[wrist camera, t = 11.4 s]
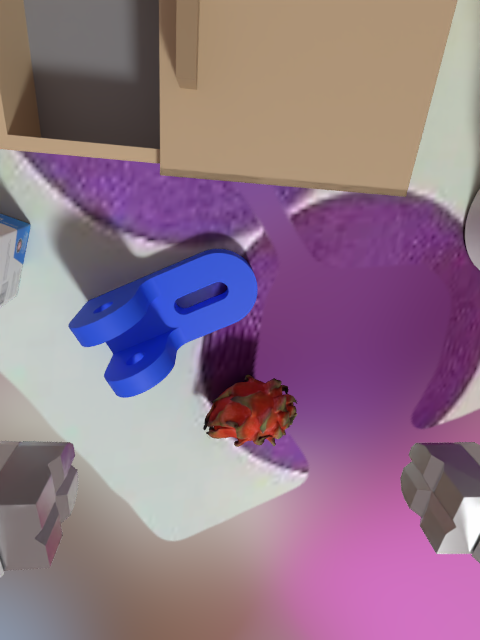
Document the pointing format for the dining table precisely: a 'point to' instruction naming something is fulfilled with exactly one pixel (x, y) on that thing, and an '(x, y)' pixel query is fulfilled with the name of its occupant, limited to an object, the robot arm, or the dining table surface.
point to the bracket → (163, 316)
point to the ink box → (11, 255)
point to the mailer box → (81, 78)
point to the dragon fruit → (251, 412)
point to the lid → (298, 90)
